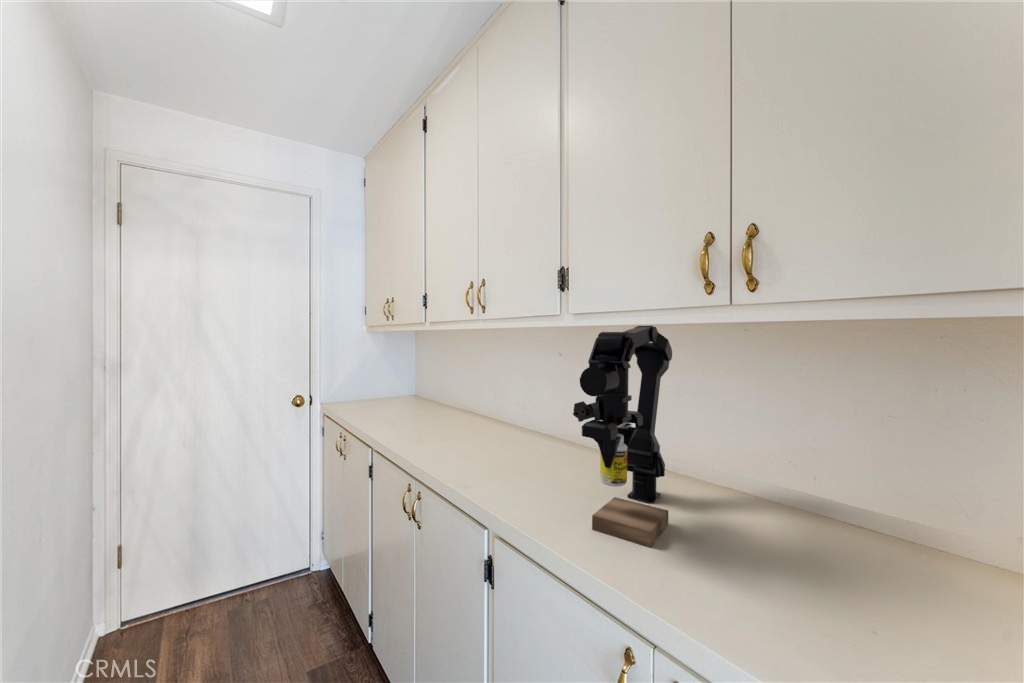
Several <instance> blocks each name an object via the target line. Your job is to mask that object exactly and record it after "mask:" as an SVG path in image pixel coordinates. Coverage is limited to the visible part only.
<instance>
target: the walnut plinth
mask: <svg viewBox="0 0 1024 683" xmlns="http://www.w3.org/2000/svg"><path fill="white" fill-rule="evenodd" d="M591 517H592V518H591V519H592V521H591V530H592V531H594V532H595V531H596V532H599V533H601V534H605V535H608V536H612V537H614V538H618V539H620V540H625V541H628V542H631V543H634V544H637V545H640V546H644V547H647V548H649V549H651V548H652V547H653V545H654V544H655V543H656V541H657V540H658V539H659V538H660V536H661V535H662V534H663V532H664V531H665V530H666V528H667V527H668V525H669V510H667V509H663V508H660V507H656V506H652V505H649V504H648V505H647V504H644V503H640V502H636V501H632V500H628V499H623V498H620V497H616V496H614V497H613V498H611V499H610V500H609V501H608V502H607V503H605V504H604V505H603V506H602V507H601V508H599V509H597V511H595V512H594V513H593V514H592V516H591Z"/></svg>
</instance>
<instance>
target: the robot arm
mask: <svg viewBox="0 0 1024 683" xmlns="http://www.w3.org/2000/svg"><path fill="white" fill-rule="evenodd" d="M633 356H635V357H636V365H637V367H638V368H639V369H638V370H640V373H641V380H640V386H639V393H638V395H639V396H638V403H637V410H636V411H635V410H629V402H630V401H632V395H630V394H629V369H631V364H630V363H629V362H631V360H632V357H633ZM672 358H673V349H672V346H671V344H670V341H669V339H668V338H666V336H664V335H663V334H661V333H660V332H659V331H658V329H657V327H656V326H653V325H636V326H634V327H633V328H630V329H627V330H623V331H601V332H599V333H598V335H597V337H596V338H595V341H594V344H593V346H592V349H591V353H590V355H589V358H588V361H587V362H588V367H586V369H585V368H584V370H583V371H582V372H581V374H580V377H579V386H580V388H581V390H582V391H583V392H584V394H586V395H588V396H589V397H595V402H592V403H588V404H587V403H586V402H585V401H584V400H582V401H580V402H575V403H574V405H573V409H572V410H573V412H572V415H573V416H574V417H575V418H577V419H578V420H577V421H578V422H579V423H581V422H583V421H584V420H585V421H586V420H589V419H592V420H589V421H587V422H584V423H583V425H581V436H582V437H584V438H589V439H593V440H594V441H595V442H596V444H597V446H598V448H599V451H600V454H601V455H602V458H603V461H604V465H605V467H606V468H611V466H612V463H613V460H614V457H615V454H616V451H617V448H618V445H619V442H620V439H621V437H618V436H617V434H622V435H623V436H624V444H625V445H626V446H627V472H632V479H631V480H632V487H631V488H632V489H631V491H630V492H628V494H627V498H629V499H634V500H637V501H642V502H646V503H650V504H654V503H656V501H657V500H658V499H659V498H660V497H661V495H662V494H661V493H660V492H657V479H658V478H661V477H665V471H666V463H665V461H664V458H663V456H662V454H661V445H660V444H659V441H658V438H657V437H656V435H655V433H656V432H655V431H656V422H657V414H658V412H657V411H658V405H659V395H660V387H661V379H662V376H664V374H665V373H666V372H667V371H668V370H669V367H670V362H671V360H672ZM593 418H594V419H593ZM632 424H635V426H632Z"/></svg>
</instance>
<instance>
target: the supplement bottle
mask: <svg viewBox="0 0 1024 683" xmlns="http://www.w3.org/2000/svg"><path fill="white" fill-rule="evenodd" d="M617 436H618V437H621V439H620V442H619V445H618V448H617V451H616V454H615V457H614V460H613V463H612V466H611V468H606V467H605V465H604V461H603V458H602V455H601V453H600V460H599V461H600V464H599V465H600V466H599V468H600V469H599V470H600V472H599V475H600V476H599V477H600V478H599V479H600V480H599V481H600V482H601V483H602V484H603V485H605V486H608V487H622V486H625V485H626V484H627V481H628V471H627V446H626V445H625V444H624V436H623V435H622V434H617Z"/></svg>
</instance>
